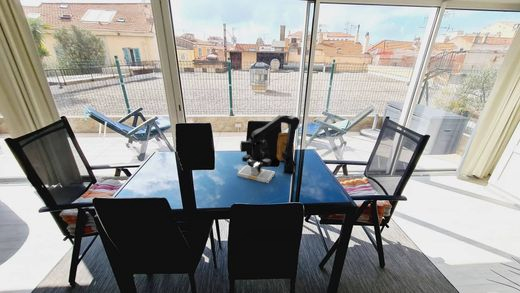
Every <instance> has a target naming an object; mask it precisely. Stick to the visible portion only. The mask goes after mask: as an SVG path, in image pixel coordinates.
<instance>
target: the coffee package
mask: <svg viewBox="0 0 520 293" xmlns="http://www.w3.org/2000/svg"><path fill="white" fill-rule="evenodd" d="M287 136H288V132H286V131H285V132H279V133H278V137H277V144H276V159H277V160H278V161H279V162H281V161H283V162H284V160H283V158H282V151H285V149H286V143H287ZM294 144H295V143H294ZM294 144H293V150H292V151H293V157H294V153H295V149H294V148H295V146H294Z"/></svg>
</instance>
